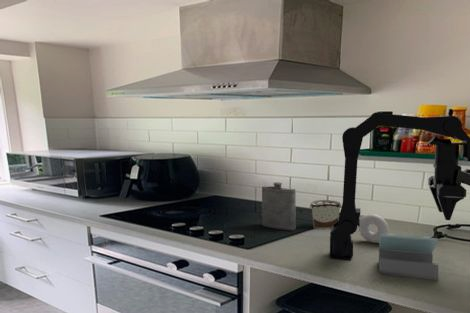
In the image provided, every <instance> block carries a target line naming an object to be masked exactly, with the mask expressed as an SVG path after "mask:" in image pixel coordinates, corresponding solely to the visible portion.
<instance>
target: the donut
mask: <svg viewBox="0 0 470 313" xmlns="http://www.w3.org/2000/svg"><path fill="white" fill-rule="evenodd" d="M370 225H375V226H376V227H377V231H376V232H372V231H371V230H370V228H369V227H370ZM357 228H358V232H359V234H360V236H361V237H362V238H363V239H364V240H366V241H367V242H369V243H373V244H378V243H380V236H381V234H385V235H386V234H389V232H390V229H389V228H390V227H389V224H388V222H387V221H386V220H385V219H384V218H383V216H381V215H379V214H375V213H368V214H365V215H363V216H362V217H361V218H360V226H358V225H357Z"/></svg>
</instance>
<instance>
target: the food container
mask: <svg viewBox="0 0 470 313" xmlns="http://www.w3.org/2000/svg"><path fill="white" fill-rule="evenodd" d="M341 207H342V203H341V202H340V201H337V200H330V199H318V200H317V199H316V200H313V201H311V203H310V205H309V209H310V210H311V214H312V215H311V216H312V225H313V229H331V228H332V225H333V224H335V223H336V222H337V221H338V219H339V215H340V211H341Z"/></svg>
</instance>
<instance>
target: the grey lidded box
mask: <svg viewBox="0 0 470 313" xmlns="http://www.w3.org/2000/svg"><path fill="white" fill-rule="evenodd" d="M433 258H434V255H433V253H432V254H431V253H419V252H408V251H397V250H386V249H379V248H378V267H379V274H380V275H388V276H389V275H390V276H396V277H397V276H398V277H407V278H416V279H424V280H433V281H434V280H435V281H438V280H439V263H435V262H433V261H434V259H433Z"/></svg>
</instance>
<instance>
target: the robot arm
mask: <svg viewBox="0 0 470 313" xmlns="http://www.w3.org/2000/svg"><path fill="white" fill-rule="evenodd" d="M379 126H382V127H391V128H399V129H410V130H419V131H424V132H427V133H430V134H434V136H433V137H432V138H431V139H430V140H428V141H427V144H428V145H430V146H435V149H434V150H435V151H434V154H435V155H434V163H433V168H434V175H431V176H430V177H429V178H428V179H427V182H428V184H427V185H428V188H429V190H430V192H431V194H432V198H433V200H434V202H435V204H436V207H437V210H438V212H439V213H442V214H443V217H444V219H445V221H451V220H452V219H451V218H452V215H453V213H454V210H455V209H456V206H457V203H458V202H460V201H461V200H464V199H465V198H466V197H467V189H466V188H465V187H464V186H463V185H462V184H464V185H466V186H470V169H469V168H466V169H464V170H462V166H461V165H459V160H460V159H459V158H463V159H464V161H465V162H470V136H469V135H468V134H467V132H466V131H465V130H464V129H463V123H462V120H461V119H459V117H457V116H454V115H442V116H441V115H440V116H426V117H423V116H415V115H414V116H412V115H401V114H393V113H392V114H391V113H384V112H379V111H376V112H372V114H371V115H370V116H369V117H368V118H366V119H365V120H364V121H362V122H361V123H359V124H358V125H357V126H355V127H354V126H352V127H348V128H347V129H346V130H344V131H343V133H342V137H341V139H342V147H343V153H344V154H343V155H344V171H343V189H342V190H343V191H342V203H341V208H340V211H339V219H338V221H337V222H336V223H335V224H333V225H332V228H330V232H329V233H330V234H329V235H330V236H329V254H328V258H329V259H337V260H348V261H350V260H352V257H353V256H354V240H352V235H353V234H354V233H356V232H357V230H358V226H360V220H361V218H360V217H361V208H360V207H358V208H356V193H357V192H356V190H357V178H358V177H357V175H358V161H359V160H358V158H359V154H360V151H361V148H362V143H363V138H365V137H366V136H367V135H368V134H370V133H371V132H373V131H374V130H375V129H376V128H378V127H379ZM436 135H438V136H442V137H448V138H439V137H437V136H436ZM450 138H451V139H453V140H457V141H462V142H452V140H451V139H450ZM459 156H460V157H459Z"/></svg>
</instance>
